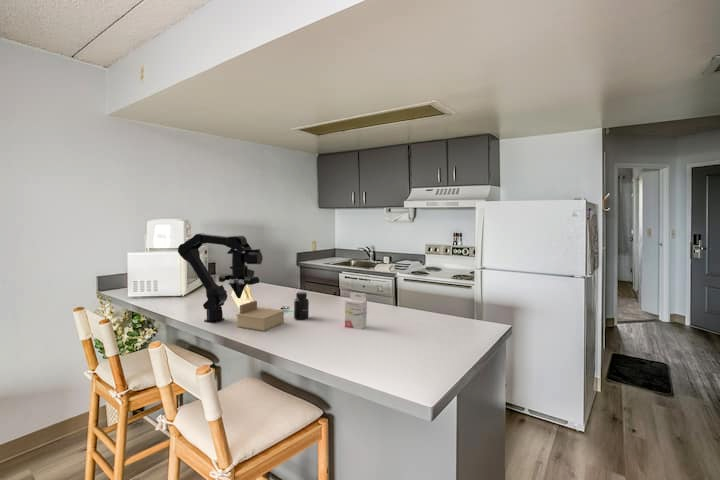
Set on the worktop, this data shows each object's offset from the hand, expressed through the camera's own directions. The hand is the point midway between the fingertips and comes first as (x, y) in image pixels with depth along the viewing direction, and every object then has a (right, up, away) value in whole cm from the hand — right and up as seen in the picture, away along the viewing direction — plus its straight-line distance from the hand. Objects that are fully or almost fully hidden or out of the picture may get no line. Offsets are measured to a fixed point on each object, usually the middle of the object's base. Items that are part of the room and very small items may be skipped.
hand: (239, 298), depth 168 cm
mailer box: (+11, -11, -4) cm, 16 cm away
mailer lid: (+11, -6, -4) cm, 13 cm away
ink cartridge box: (+53, -12, -6) cm, 54 cm away
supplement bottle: (+27, -11, +7) cm, 30 cm away
